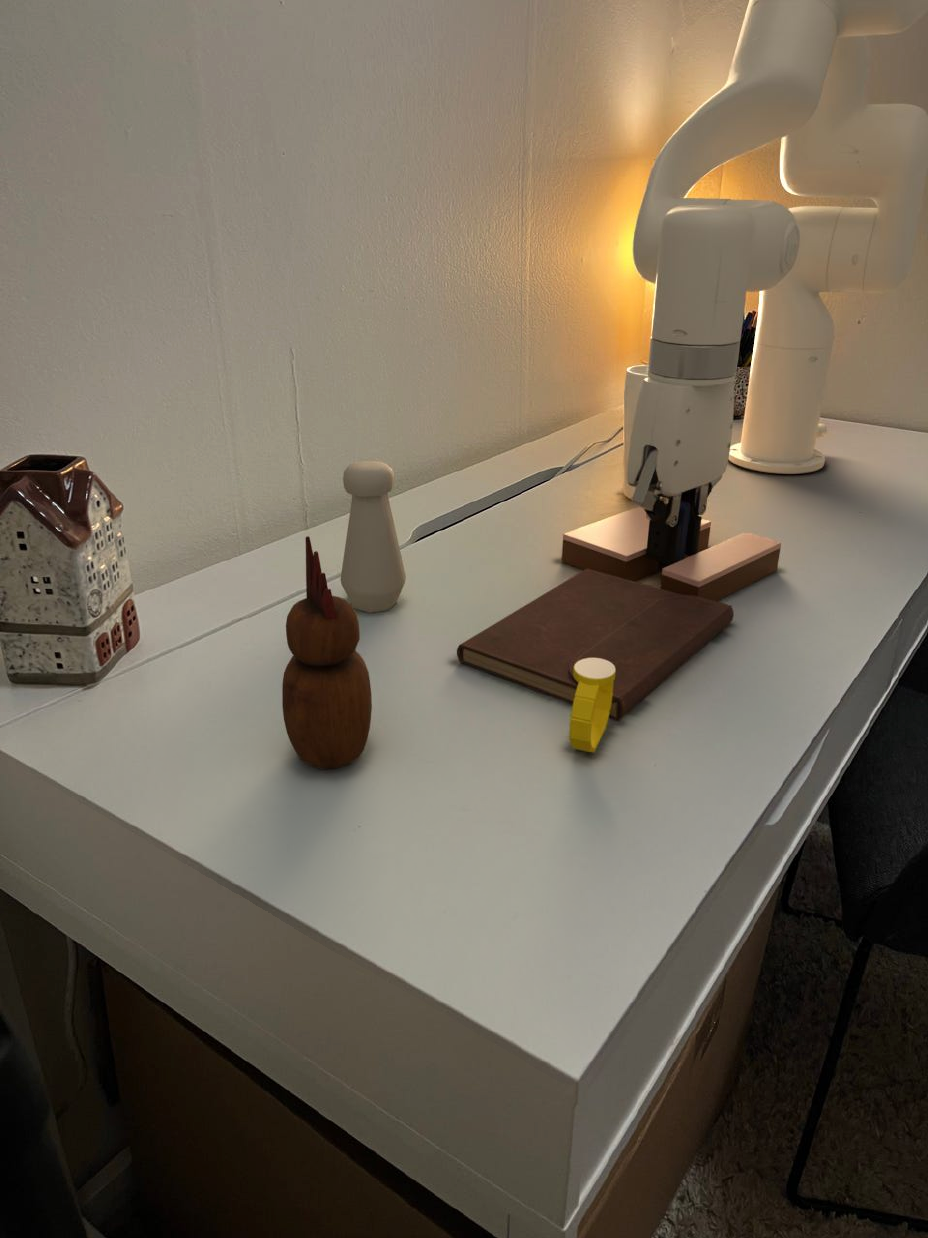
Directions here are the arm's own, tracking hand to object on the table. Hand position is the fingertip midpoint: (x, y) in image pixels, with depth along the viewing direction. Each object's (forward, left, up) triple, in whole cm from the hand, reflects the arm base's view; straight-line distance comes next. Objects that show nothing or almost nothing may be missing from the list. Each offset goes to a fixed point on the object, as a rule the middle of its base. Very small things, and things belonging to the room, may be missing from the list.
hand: (671, 555), depth 88 cm
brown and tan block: (-3, -6, -2) cm, 7 cm away
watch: (+27, +13, -3) cm, 31 cm away
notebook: (+15, +4, -3) cm, 16 cm away
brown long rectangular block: (-3, +4, -2) cm, 5 cm away
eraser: (0, 0, -2) cm, 2 cm away
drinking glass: (-19, -17, -3) cm, 25 cm away
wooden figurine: (+41, +2, -3) cm, 42 cm away
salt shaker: (+24, -15, -3) cm, 29 cm away
